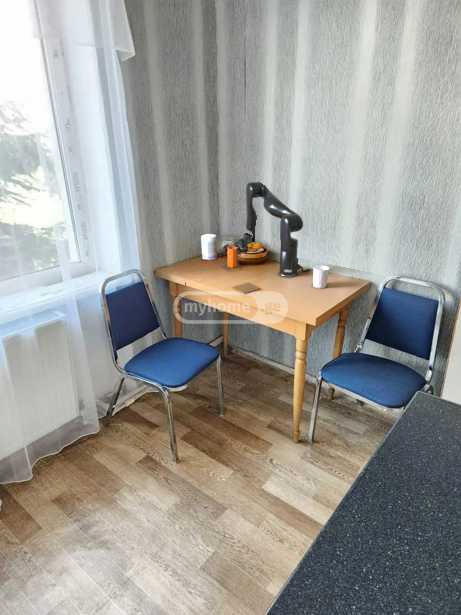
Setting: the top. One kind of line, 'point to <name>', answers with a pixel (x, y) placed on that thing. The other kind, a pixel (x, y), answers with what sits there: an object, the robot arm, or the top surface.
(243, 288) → the cork coaster
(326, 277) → the white cup
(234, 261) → the orange cylinder
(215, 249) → the supplement tub
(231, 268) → the stake
